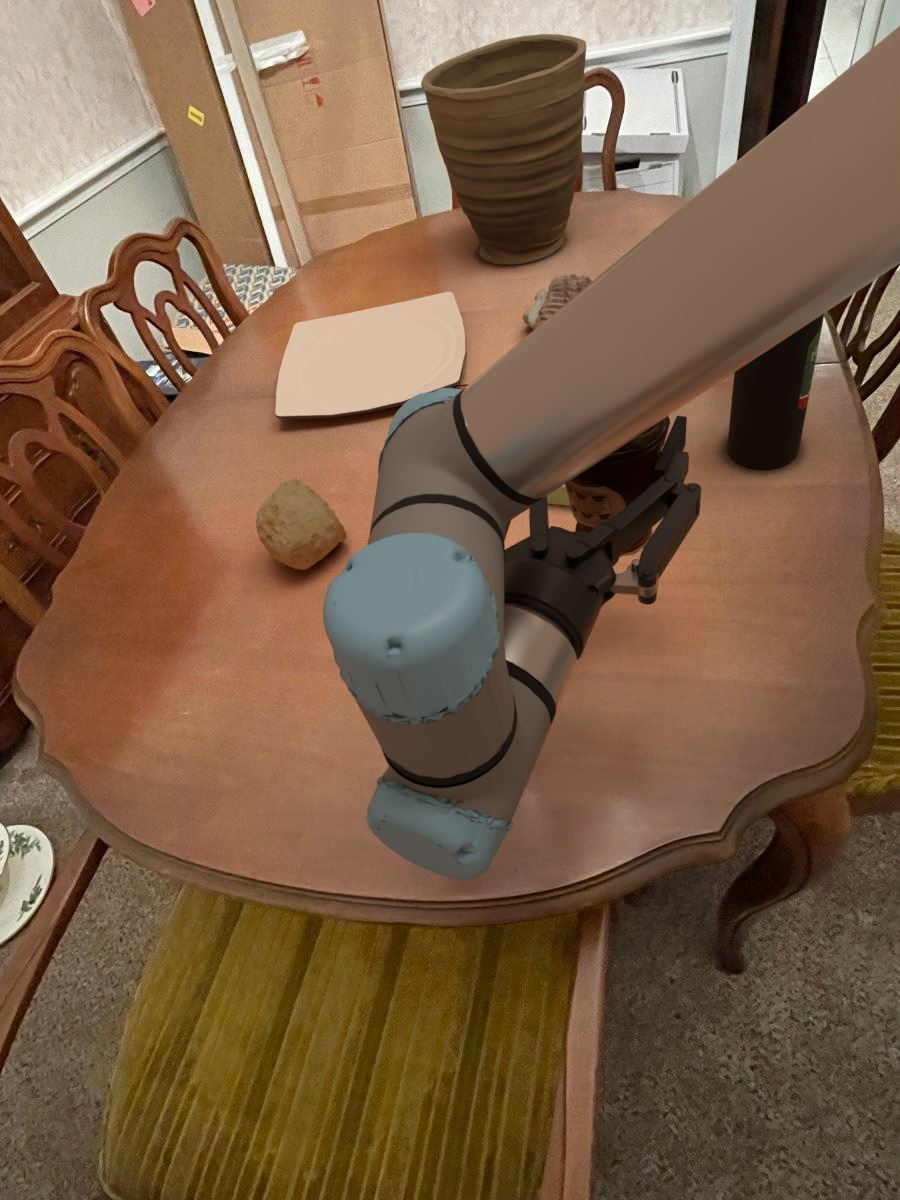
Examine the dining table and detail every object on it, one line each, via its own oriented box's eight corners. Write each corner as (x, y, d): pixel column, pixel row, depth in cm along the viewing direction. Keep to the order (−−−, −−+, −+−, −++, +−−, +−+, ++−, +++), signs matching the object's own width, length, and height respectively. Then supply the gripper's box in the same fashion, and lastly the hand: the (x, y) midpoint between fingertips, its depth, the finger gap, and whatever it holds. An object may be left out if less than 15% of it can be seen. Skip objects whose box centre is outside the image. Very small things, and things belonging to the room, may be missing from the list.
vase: (590, 207, 136) (601, 8, 111) (564, 288, 124) (570, 85, 99) (460, 200, 142) (442, 9, 117) (423, 277, 130) (394, 82, 105)
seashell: (532, 285, 114) (559, 232, 105) (587, 311, 115) (619, 262, 106) (508, 353, 108) (535, 304, 99) (567, 380, 109) (598, 334, 100)
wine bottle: (721, 432, 88) (745, 155, 66) (789, 423, 87) (837, 137, 65) (734, 474, 83) (766, 189, 61) (807, 465, 82) (866, 171, 60)
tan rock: (365, 493, 83) (286, 513, 77) (356, 568, 89) (281, 592, 83) (318, 455, 88) (239, 470, 82) (312, 528, 94) (238, 548, 88)
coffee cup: (615, 586, 60) (609, 458, 51) (542, 540, 65) (523, 416, 56) (686, 526, 63) (693, 394, 53) (611, 487, 68) (604, 360, 58)
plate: (272, 439, 105) (264, 424, 103) (293, 335, 125) (287, 320, 123) (472, 402, 102) (469, 385, 100) (463, 301, 121) (460, 285, 119)
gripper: (402, 637, 56) (516, 445, 68) (683, 711, 47) (757, 477, 60) (375, 568, 50) (505, 373, 63) (688, 639, 42) (768, 397, 54)
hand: (628, 424), depth 61 cm, fingers closed on coffee cup, 8 cm apart
